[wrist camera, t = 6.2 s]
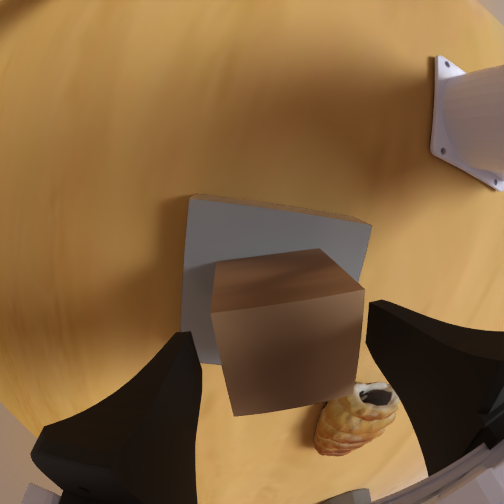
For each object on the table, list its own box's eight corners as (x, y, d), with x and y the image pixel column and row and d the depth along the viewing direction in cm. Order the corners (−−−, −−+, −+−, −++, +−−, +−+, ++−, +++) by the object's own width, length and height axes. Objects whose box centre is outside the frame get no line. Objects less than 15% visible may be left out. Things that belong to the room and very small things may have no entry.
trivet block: (349, 215, 16) (372, 225, 13) (317, 342, 19) (329, 368, 16) (197, 192, 15) (189, 198, 12) (186, 332, 18) (180, 360, 15)
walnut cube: (319, 248, 13) (364, 289, 9) (320, 333, 15) (352, 394, 10) (216, 261, 13) (210, 313, 8) (231, 347, 15) (234, 416, 10)
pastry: (353, 441, 23) (364, 467, 19) (294, 443, 22) (301, 474, 18) (398, 377, 20) (417, 405, 17) (334, 376, 19) (350, 410, 16)
